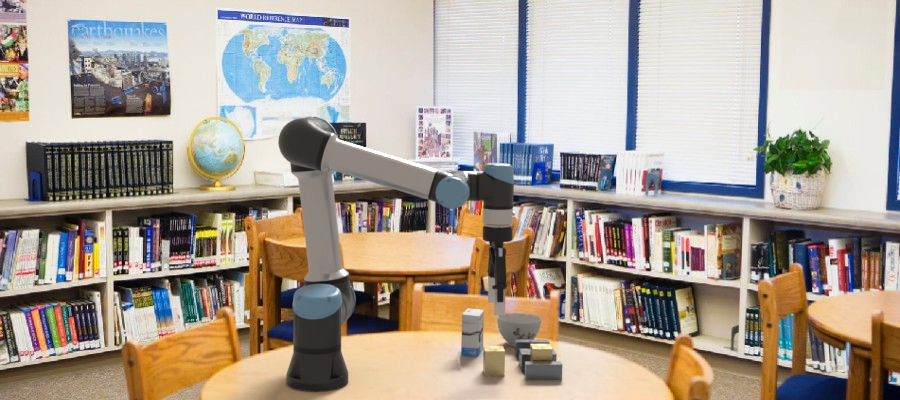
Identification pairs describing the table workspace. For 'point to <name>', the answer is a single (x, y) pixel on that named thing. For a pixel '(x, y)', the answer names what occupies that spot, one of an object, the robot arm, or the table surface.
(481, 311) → the ink box
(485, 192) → the robot arm
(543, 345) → the wooden cube
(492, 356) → the tan square-edged block
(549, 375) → the rail
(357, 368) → the table surface
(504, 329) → the teacup
